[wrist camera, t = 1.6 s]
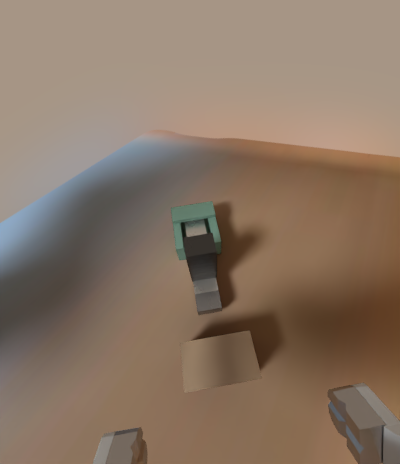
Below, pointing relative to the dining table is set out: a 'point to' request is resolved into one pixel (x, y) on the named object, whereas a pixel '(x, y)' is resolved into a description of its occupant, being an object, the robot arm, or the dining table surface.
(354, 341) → the dining table surface
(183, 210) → the green slotted block
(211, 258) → the two-tone rectangular rod
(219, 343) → the socket block
